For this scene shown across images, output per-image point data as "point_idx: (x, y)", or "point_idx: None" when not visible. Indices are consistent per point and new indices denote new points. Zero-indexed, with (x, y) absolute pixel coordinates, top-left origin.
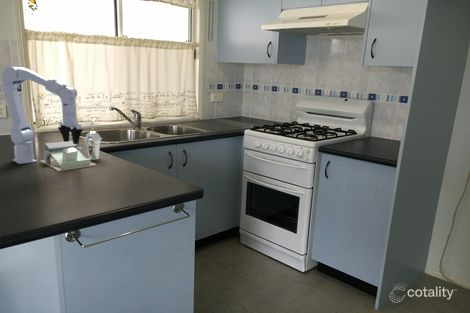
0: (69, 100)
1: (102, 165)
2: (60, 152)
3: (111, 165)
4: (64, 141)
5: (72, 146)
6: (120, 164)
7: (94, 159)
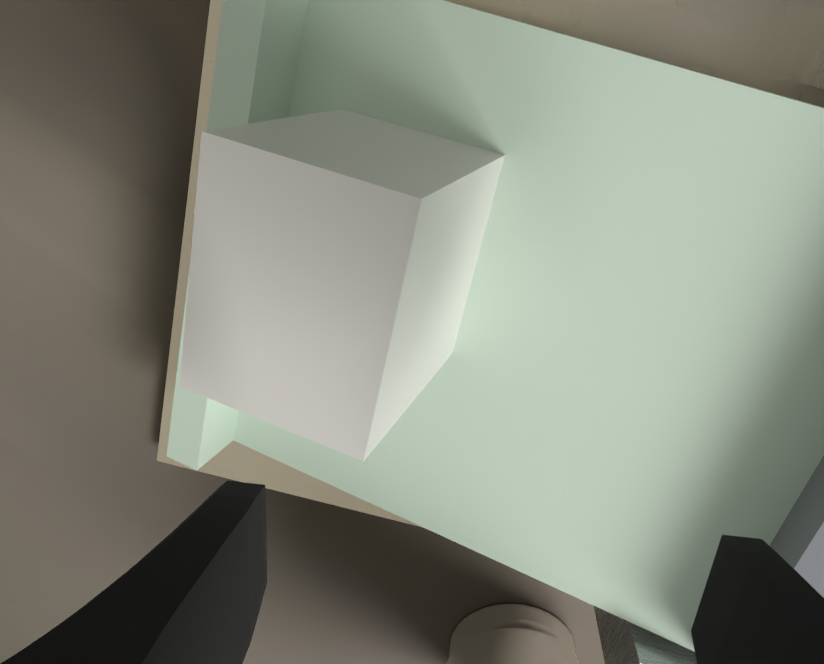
0: None
1: (111, 486)
2: (786, 340)
3: (37, 541)
4: (741, 540)
5: None
6: (13, 618)
7: (459, 623)
